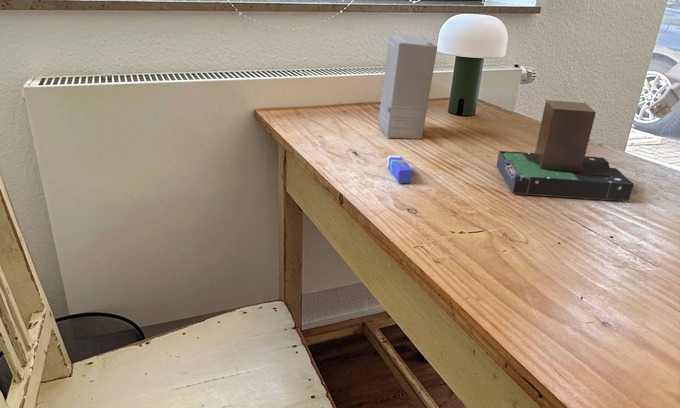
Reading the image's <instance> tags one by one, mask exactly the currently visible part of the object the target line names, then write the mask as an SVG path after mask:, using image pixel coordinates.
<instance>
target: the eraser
mask: <svg viewBox="0 0 680 408" xmlns="http://www.w3.org/2000/svg"><path fill="white" fill-rule="evenodd" d="M386 167H387V169H388V171H389V172H390V173H391V174H392V175H393V176H394V178H395V180H396V181H397V183H398V184H411V183H412V181H413V173H414V172H413V169H412V168H411V167H410V165H409V164H408V163H407V161H405V159H403V157H402V156H401V155H388V156H387V165H386Z"/></svg>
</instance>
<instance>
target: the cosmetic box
mask: <svg viewBox="0 0 680 408" xmlns="http://www.w3.org/2000/svg"><path fill="white" fill-rule="evenodd" d="M388 38H389V39H388V46H387V53H386V59H385V60H386V61H385V67H384V68H385V69H384V76H383V84H382V91H381V100H380V106H379V114H378V120H377V125H378V127H379V128H380V130H381V131H382V133H383V134H384V136H385V137H386V138H387V139H414V140H415V139H417V140H419V139H423V135H424V129H425V122H426V117H427V110H428V104H429V98H430V92H431V85H432V81H433V75H434V68H435V64H436V57H437V51H438V45H437V44H435V43H434V42H433V41H432V40H429V39H427V38H426V37H423V36H410V35H401V34H390V35H389V37H388Z"/></svg>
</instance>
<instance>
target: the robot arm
mask: <svg viewBox="0 0 680 408" xmlns="http://www.w3.org/2000/svg"><path fill="white" fill-rule="evenodd" d="M666 78H667V80H668V81H669V83H670V86H668V87H667V88H666V90H665V91H664V92H663V93H662V95H661V96H660V97H659V99H657V100H656V101H654V102H653V103H651V104H650V105H649V106H648V110H649V112H650V113H651V114H652V116H654V117H655V118H658V119H662V118H664V117H665V116H667V115H668V114H670V113H672V112H673V110H672V108H673V107H674V106H676V105H677V104H678V103H679V102H680V62H677V63H676V64H675V65H673V66H672V67H671V68H670V69H669V70H668V72H667V73H666Z"/></svg>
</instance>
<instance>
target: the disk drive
mask: <svg viewBox="0 0 680 408" xmlns="http://www.w3.org/2000/svg"><path fill="white" fill-rule="evenodd" d="M534 155H535V152H525V151H523V152H522V151H505V150H499V151H498V154H497V161H496V167H497V170H498V172H499V175H500V176H501V177H502V180H503V181H504V182H505V184H506V186H507V188H508V190H509V191H510V192H511V193H515V194H518V195H529V196H530V195H531V196H541V197H557V198H559V197H562V198H574V199H589V200H601V201H602V200H603V201H620V202H621V201H630V198H631V195H632V192H633V188H634V185H635V184H634V182H632V181H631V180H630V179H629V178H628V177H626V176H625V175H624V174H623V173H622V172H621V171H620V170H618V169H617V168H616V167H610V162H609V161H608V160H607V159H606V158H605V157H599V156H588V155H585V157H584V161H583V165H582V169H581V173H579V172H569V171H558V170H547V169H541V168H540V166H539V165H538V163H537V161H536V159H535V157H534Z"/></svg>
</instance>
